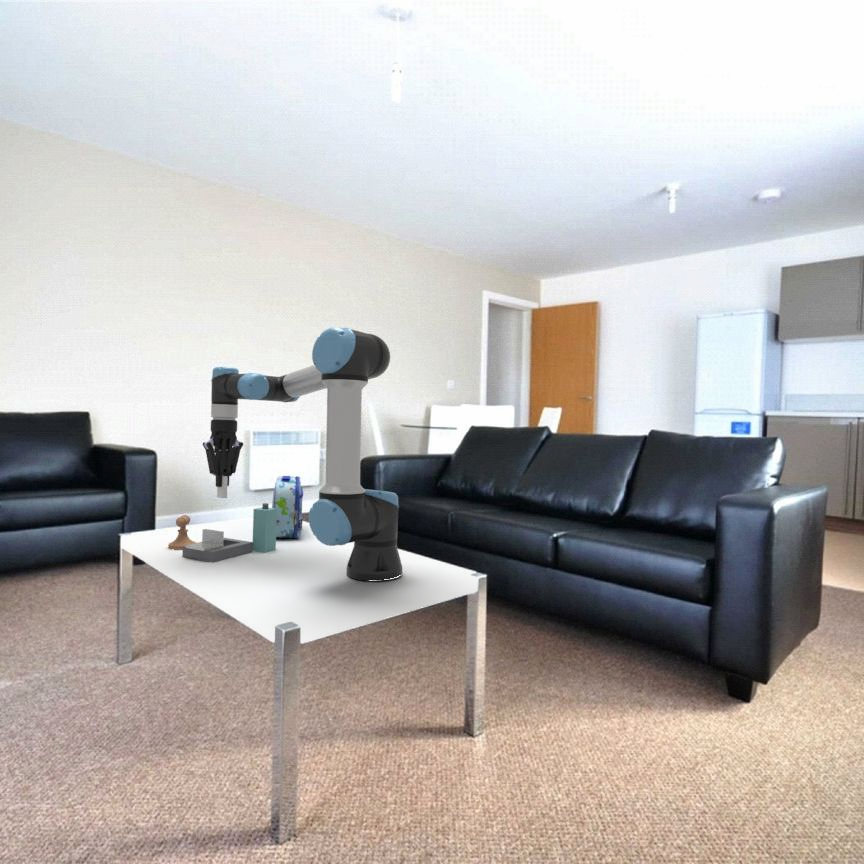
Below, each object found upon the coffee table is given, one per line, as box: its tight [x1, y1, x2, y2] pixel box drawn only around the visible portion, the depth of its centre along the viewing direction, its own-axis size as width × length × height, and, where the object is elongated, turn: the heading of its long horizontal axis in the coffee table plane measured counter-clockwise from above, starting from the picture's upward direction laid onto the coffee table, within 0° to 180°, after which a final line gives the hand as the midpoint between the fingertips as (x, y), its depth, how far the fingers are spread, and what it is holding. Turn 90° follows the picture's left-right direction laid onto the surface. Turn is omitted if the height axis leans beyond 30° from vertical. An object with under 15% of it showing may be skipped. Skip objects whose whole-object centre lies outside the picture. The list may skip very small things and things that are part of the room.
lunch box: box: [271, 475, 304, 540], centre depth 209 cm, size 26×11×21 cm, turn 14°
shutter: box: [186, 528, 225, 551], centre depth 170 cm, size 7×7×4 cm
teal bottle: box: [252, 502, 277, 553], centre depth 183 cm, size 5×5×15 cm
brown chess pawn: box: [168, 514, 197, 551], centre depth 182 cm, size 8×10×8 cm
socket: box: [181, 537, 254, 563], centre depth 175 cm, size 12×16×3 cm
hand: (222, 497), depth 174 cm, fingers closed
